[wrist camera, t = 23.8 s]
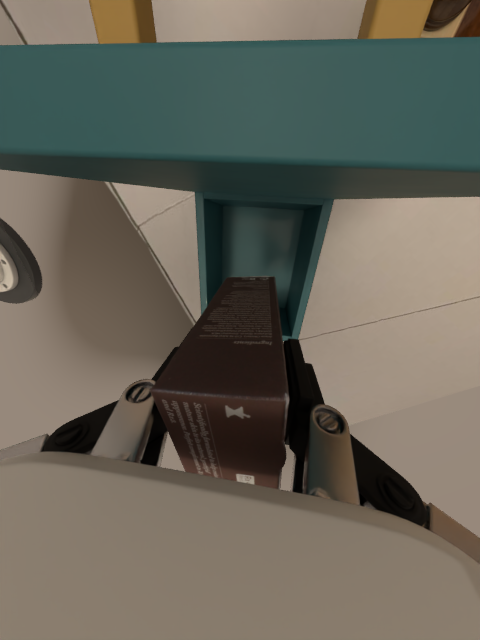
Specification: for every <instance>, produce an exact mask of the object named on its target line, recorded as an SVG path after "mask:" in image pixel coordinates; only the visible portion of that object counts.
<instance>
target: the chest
mask: <svg viewBox="0 0 480 640" xmlns="http://www.w3.org/2000/svg"><path fill="white" fill-rule="evenodd" d="M333 202H334V199H323V198H304V197H285V196H266V195H247V194H228V193H209V192H195V203H196V222H197V241H198V260H199V279H200V299H201V315H202V314H203V312H204V310H205V309H206V308H207V306H208V305H209V303H210V301H211V300H212V298H213V297H214V295H215V294H216V293H217V291H218V290H219V288H220V287H221V285H222V284H223V282H224V281H225V279H226V278H227V277H249V276H274V277H275V281H276V289H277V298H278V305H279V314H280V322H281V330H282V339H283V341H285V340H286V341H287V340H288V338H290V339H298V338H299V334H300V330H301V326H302V322H303V318H304V314H305V310H306V307H307V303H308V299H309V295H310V291H311V287H312V283H313V279H314V275H315V272H316V268H317V264H318V260H319V256H320V252H321V248H322V244H323V240H324V237H325V233H326V229H327V225H328V221H329V217H330V213H331V209H332V205H333Z"/></svg>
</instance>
